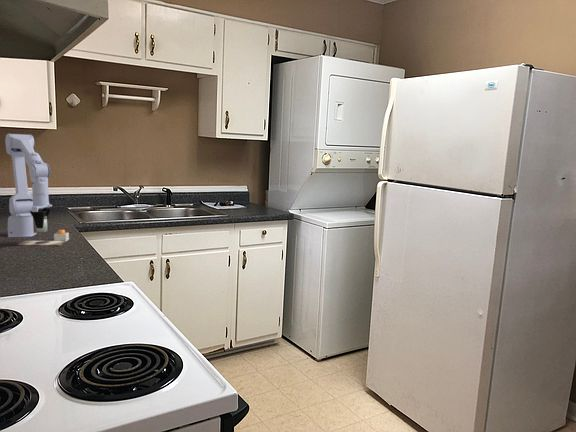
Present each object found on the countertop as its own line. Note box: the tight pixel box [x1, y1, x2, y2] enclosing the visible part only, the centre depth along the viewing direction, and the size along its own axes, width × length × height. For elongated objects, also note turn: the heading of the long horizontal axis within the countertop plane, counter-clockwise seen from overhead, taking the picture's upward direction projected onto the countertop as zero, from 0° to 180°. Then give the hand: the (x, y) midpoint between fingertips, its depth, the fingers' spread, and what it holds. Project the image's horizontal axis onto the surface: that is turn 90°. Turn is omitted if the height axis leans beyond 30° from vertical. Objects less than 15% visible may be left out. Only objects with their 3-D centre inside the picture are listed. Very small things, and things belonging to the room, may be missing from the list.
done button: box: [57, 229, 66, 234], centre depth 204 cm, size 3×3×3 cm
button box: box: [53, 232, 70, 242], centre depth 204 cm, size 5×5×3 cm
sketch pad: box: [17, 240, 67, 247], centre depth 197 cm, size 16×8×1 cm, turn 99°
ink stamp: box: [35, 216, 48, 233], centre depth 195 cm, size 4×4×6 cm
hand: (41, 227), depth 196 cm, fingers closed on ink stamp, 4 cm apart
